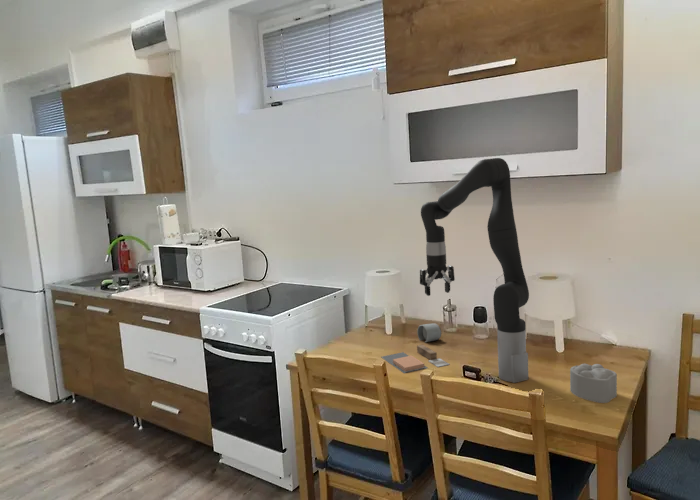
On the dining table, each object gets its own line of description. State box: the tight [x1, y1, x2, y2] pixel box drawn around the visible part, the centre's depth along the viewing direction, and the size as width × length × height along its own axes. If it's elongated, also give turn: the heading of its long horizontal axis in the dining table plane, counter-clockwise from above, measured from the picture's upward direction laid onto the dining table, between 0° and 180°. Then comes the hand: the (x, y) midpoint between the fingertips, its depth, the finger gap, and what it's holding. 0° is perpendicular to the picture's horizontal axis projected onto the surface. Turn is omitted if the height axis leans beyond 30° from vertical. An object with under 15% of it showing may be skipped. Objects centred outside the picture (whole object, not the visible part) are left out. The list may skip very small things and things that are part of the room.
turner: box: [416, 344, 450, 368], centre depth 203 cm, size 18×5×4 cm, turn 21°
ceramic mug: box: [416, 322, 443, 343], centre depth 227 cm, size 11×8×8 cm
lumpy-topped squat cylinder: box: [569, 363, 618, 404], centre depth 165 cm, size 10×13×9 cm
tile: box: [393, 355, 426, 372], centre depth 198 cm, size 2×8×10 cm
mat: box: [380, 351, 429, 374], centre depth 202 cm, size 20×10×1 cm, turn 22°
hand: (437, 293), depth 207 cm, fingers open, 8 cm apart
